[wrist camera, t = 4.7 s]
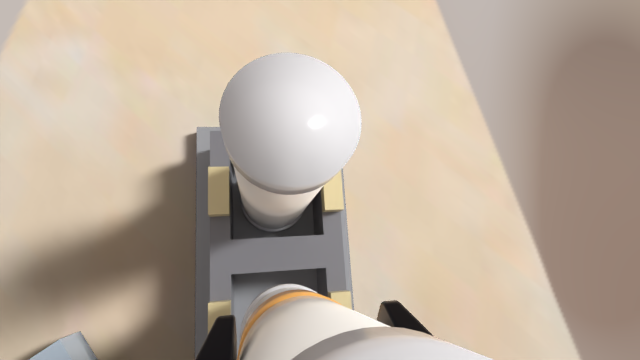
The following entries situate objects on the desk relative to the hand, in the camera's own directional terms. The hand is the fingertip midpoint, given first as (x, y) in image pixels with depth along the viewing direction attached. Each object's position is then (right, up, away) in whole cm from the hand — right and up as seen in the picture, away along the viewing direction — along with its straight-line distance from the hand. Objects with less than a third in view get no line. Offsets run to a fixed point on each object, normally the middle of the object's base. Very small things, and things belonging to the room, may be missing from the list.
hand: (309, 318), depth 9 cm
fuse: (-3, +2, +13) cm, 14 cm away
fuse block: (-3, -1, +13) cm, 14 cm away
